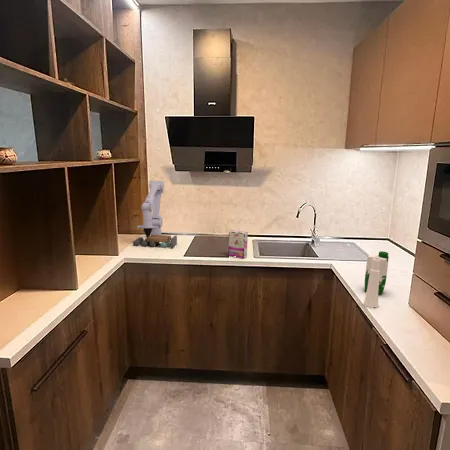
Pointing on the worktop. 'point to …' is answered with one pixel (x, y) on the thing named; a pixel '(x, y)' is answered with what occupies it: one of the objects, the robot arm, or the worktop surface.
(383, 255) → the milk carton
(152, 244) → the roller bed
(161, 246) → the roller
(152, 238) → the slab
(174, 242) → the bar
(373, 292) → the cosmetic bottle
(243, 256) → the candy bar box
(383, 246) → the worktop surface
